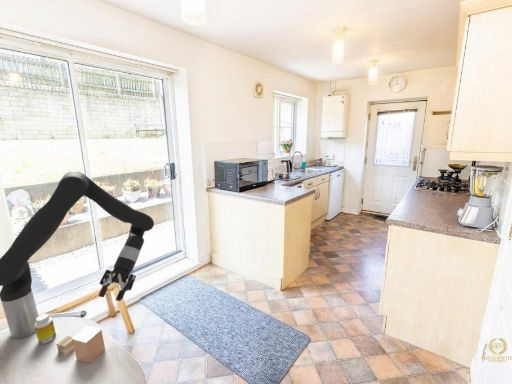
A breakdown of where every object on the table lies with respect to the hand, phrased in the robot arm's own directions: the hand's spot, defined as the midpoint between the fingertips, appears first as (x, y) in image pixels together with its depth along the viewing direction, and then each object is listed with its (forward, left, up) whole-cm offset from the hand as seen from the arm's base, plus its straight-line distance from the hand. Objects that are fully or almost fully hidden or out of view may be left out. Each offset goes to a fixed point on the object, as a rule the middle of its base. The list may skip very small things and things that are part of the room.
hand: (109, 298), depth 101 cm
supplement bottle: (-15, -21, -16) cm, 30 cm away
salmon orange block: (+5, -10, -16) cm, 19 cm away
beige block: (-3, -16, -16) cm, 23 cm away
